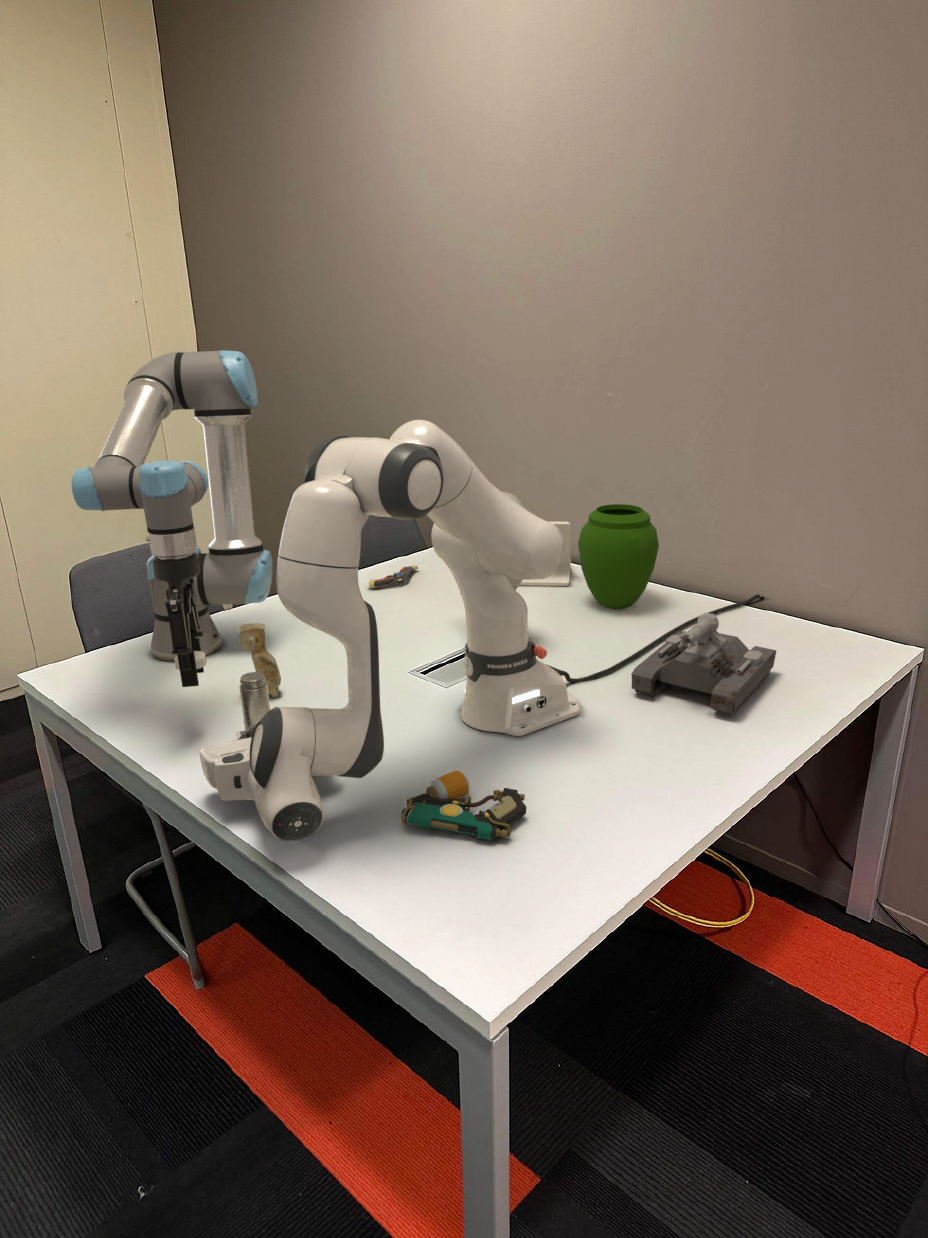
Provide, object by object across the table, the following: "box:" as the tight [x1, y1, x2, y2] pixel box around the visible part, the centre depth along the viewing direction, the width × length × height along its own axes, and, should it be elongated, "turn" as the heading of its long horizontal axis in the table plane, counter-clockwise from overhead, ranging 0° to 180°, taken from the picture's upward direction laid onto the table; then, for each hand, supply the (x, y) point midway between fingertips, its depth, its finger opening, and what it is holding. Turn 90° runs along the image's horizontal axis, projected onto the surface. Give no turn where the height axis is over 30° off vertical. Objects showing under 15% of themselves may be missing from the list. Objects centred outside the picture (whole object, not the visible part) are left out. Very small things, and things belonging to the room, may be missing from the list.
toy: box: [630, 612, 777, 715], centre depth 167 cm, size 25×20×15 cm
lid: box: [174, 651, 208, 671], centre depth 152 cm, size 5×5×2 cm
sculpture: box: [238, 622, 282, 698], centre depth 168 cm, size 6×7×15 cm
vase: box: [577, 503, 660, 610], centre depth 210 cm, size 20×20×24 cm
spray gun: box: [401, 769, 527, 841], centre depth 128 cm, size 4×17×15 cm
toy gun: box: [368, 565, 419, 589], centre depth 238 cm, size 3×19×10 cm
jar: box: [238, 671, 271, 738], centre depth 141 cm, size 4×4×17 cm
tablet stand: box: [519, 521, 572, 587], centre depth 236 cm, size 18×25×17 cm
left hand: (193, 678), depth 153 cm, fingers closed on lid, 5 cm apart
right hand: (258, 731), depth 143 cm, fingers closed on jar, 4 cm apart
